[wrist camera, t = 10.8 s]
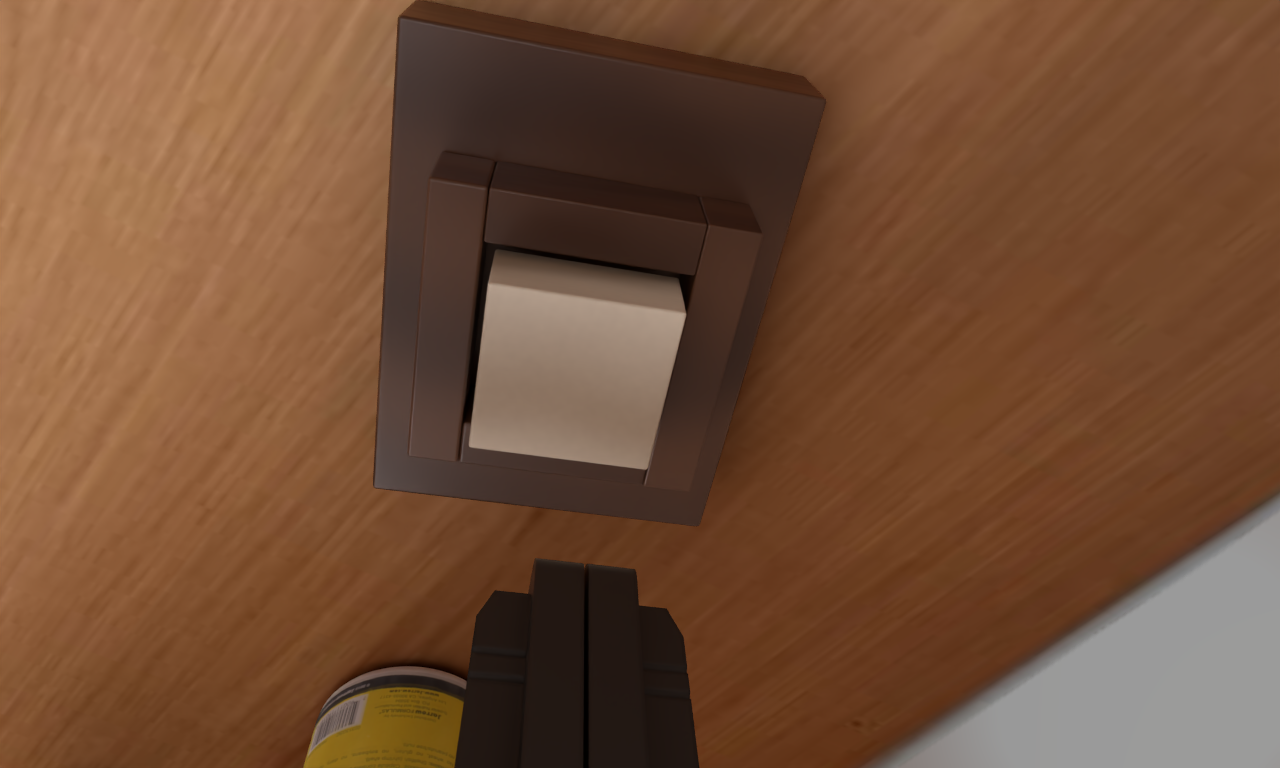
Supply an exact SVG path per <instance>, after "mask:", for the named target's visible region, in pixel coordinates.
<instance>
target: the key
mask: <svg viewBox="0 0 1280 768" xmlns="http://www.w3.org/2000/svg"><path fill="white" fill-rule="evenodd" d="M685 319H686V310H685V305H684V301H683V296H682V292H681V287H680V283H679V279H678V278H674V277H668V276H662V275H655V274H649V273H643V272H637V271H630V270H624V269H618V268H612V267H605V266H599V265H593V264H587V263H580V262H574V261H568V260H562V259H556V258H549V257H543V256H537V255H531V254H524V253H518V252H512V251H506V250H499V249H497V250H496V251H495V254H494V258H493V263H492V267H491V272H490V277H489V281H488V287H487V295H486V304H485V312H484V320H483V329H482V337H481V345H480V354H479V362H478V371H477V379H476V387H475V396H474V404H473V412H472V421H471V429H470V437H469V447H471V448H479V449H487V450H495V451H502V452H510V453H518V454H526V455H534V456H542V457H550V458H558V459H566V460H573V461H581V462H589V463H597V464H605V465H613V466H621V467H629V468H636V469H644V470H646V469H648V467H649V463H650V459H651V455H652V451H653V447H654V443H655V439H656V435H657V431H658V427H659V423H660V419H661V415H662V411H663V407H664V403H665V399H666V395H667V391H668V387H669V383H670V379H671V375H672V371H673V367H674V363H675V359H676V355H677V351H678V347H679V343H680V339H681V335H682V331H683V327H684V323H685Z"/></svg>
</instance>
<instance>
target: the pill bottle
mask: <svg viewBox="0 0 1280 768" xmlns="http://www.w3.org/2000/svg"><path fill="white" fill-rule="evenodd" d="M466 684H467V681H466V680H464V679H462V678H460V677H457V676H455V675H453V674H450V673H447V672H444V671H441V670H436V669H432V668H425V667H416V666H400V667H390V668H384V669H379V670H375V671H371V672H368V673H365V674H363V675H360V676H358V677H356V678H354V679H352V680H351V681H349V682H347V683H346V684H344V685H343V686H341V687H340V688H339V689H338V690H337V691H335V692H334V693H333V694H332V695H331V696H330V698H329V699H328V700H327V702H326V703H325V705H324V706H323V708H322V710H321V712H320V714H319V717H318V719H317V721H316V724H315V728H314V732H313V735H312V739H311V742H310V746H309V749H308V753H307V756H306V760H305V763H304V767H303V768H454V766H455V759H456V752H457V745H458V738H459V732H460V725H461V718H462V711H463V704H464V697H465V691H466Z"/></svg>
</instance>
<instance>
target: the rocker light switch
mask: <svg viewBox="0 0 1280 768" xmlns="http://www.w3.org/2000/svg"><path fill="white" fill-rule="evenodd" d="M825 105H826V99H825V98H824V97H823V96H822V94H821V93H820V92H819V91H818V90H817V89H816V88H815V87H814V86H813V85H812V84H811V83H810V82H809V81H808V80H807V79H806V78H805V77H804V76H799V75H794V74H789V73H784V72H779V71H774V70H769V69H764V68H759V67H754V66H749V65H744V64H739V63H734V62H729V61H724V60H719V59H714V58H709V57H704V56H699V55H694V54H689V53H684V52H679V51H674V50H669V49H664V48H659V47H654V46H649V45H644V44H639V43H634V42H629V41H624V40H619V39H614V38H609V37H604V36H599V35H594V34H589V33H584V32H579V31H574V30H568V29H563V28H558V27H553V26H548V25H543V24H538V23H533V22H528V21H523V20H518V19H513V18H508V17H503V16H498V15H493V14H488V13H483V12H478V11H473V10H468V9H463V8H458V7H453V6H448V5H443V4H438V3H433V2H428V1H423V0H416V1H415V2H414V3H413V4H411V5H410V6H409V7H408V8H407V9H406V10H405V11H404V12H403V13H402V14H401V15H399V17H398V25H397V43H396V62H395V81H394V99H393V118H392V137H391V156H390V174H389V193H388V212H387V230H386V249H385V268H384V286H383V305H382V324H381V342H380V361H379V380H378V399H377V417H376V436H375V455H374V473H373V486H374V488H377V489H386V490H394V491H402V492H411V493H419V494H428V495H436V496H445V497H453V498H462V499H470V500H479V501H487V502H496V503H504V504H512V505H521V506H529V507H538V508H546V509H555V510H563V511H572V512H580V513H589V514H597V515H606V516H614V517H622V518H631V519H639V520H648V521H656V522H665V523H673V524H682V525H690V526H699V525H700V522H701V519H702V516H703V512H704V509H705V506H706V502H707V499H708V496H709V492H710V489H711V486H712V482H713V479H714V475H715V472H716V469H717V465H718V462H719V459H720V455H721V452H722V449H723V445H724V442H725V439H726V435H727V432H728V429H729V425H730V422H731V419H732V415H733V412H734V409H735V405H736V402H737V399H738V395H739V392H740V389H741V385H742V382H743V379H744V375H745V372H746V369H747V365H748V362H749V359H750V355H751V352H752V349H753V345H754V342H755V339H756V335H757V332H758V329H759V325H760V322H761V319H762V315H763V312H764V309H765V305H766V302H767V299H768V295H769V292H770V289H771V285H772V282H773V279H774V275H775V272H776V269H777V265H778V262H779V259H780V255H781V252H782V249H783V245H784V242H785V239H786V235H787V232H788V229H789V225H790V222H791V219H792V215H793V212H794V208H795V205H796V202H797V198H798V195H799V192H800V188H801V185H802V182H803V178H804V175H805V172H806V168H807V165H808V162H809V158H810V155H811V152H812V148H813V145H814V142H815V138H816V135H817V132H818V128H819V125H820V122H821V118H822V115H823V112H824V108H825ZM497 249H499V250H506V251H512V252H518V253H524V254H531V255H537V256H543V257H549V258H556V259H562V260H568V261H574V262H580V263H587V264H593V265H599V266H605V267H612V268H618V269H624V270H630V271H637V272H643V273H649V274H655V275H662V276H668V277H674V278H678V279H679V283H680V287H681V292H682V296H683V301H684V305H685V310H686V319H685V323H684V327H683V331H682V335H681V339H680V343H679V347H678V351H677V355H676V359H675V363H674V367H673V371H672V375H671V379H670V383H669V387H668V391H667V395H666V399H665V403H664V407H663V411H662V415H661V419H660V423H659V427H658V431H657V435H656V439H655V443H654V447H653V451H652V455H651V459H650V463H649V467H648V469H646V470H644V469H636V468H629V467H621V466H613V465H605V464H597V463H589V462H581V461H573V460H566V459H558V458H550V457H542V456H534V455H526V454H518V453H510V452H502V451H495V450H487V449H479V448H471V447H469V437H470V429H471V421H472V412H473V404H474V396H475V387H476V379H477V371H478V362H479V354H480V345H481V337H482V329H483V320H484V312H485V304H486V295H487V287H488V281H489V277H490V272H491V267H492V263H493V258H494V254H495V251H496V250H497Z"/></svg>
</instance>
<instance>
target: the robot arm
mask: <svg viewBox="0 0 1280 768" xmlns="http://www.w3.org/2000/svg"><path fill="white" fill-rule="evenodd" d="M454 768H699V762H698V754H697V746H696V738H695V729H694V721H693V713H692V704H691V699H690V688H689V679H688V674H687V663H686V654H685V646H684V638H683V635H682V634H681V632H680V630H679V629H678V627H677V625H676V624H675V622H674V620H673V619H672V617H671V615H670V614H669V612H668V610H667V609H665V608H656V607H647V606H639V602H638V587H637V575H636V571H635V569H628V568H619V567H610V566H602V565H593V564H587V565H586V567H585V570H584V564H582V563H573V562H564V561H556V560H547V559H538V558H535V560H534V565H533V570H532V575H531V581H530V586H529V592H528V594H524V593H515V592H505V591H496V590H495V591H494V592H493V594H492V595H491V597H490V598H489V599H488V601H487V602H486V603H485V605H484V606H483V608H482V609H481V610H480V612H479V613H478V614H477V616H476V622H475V629H474V636H473V643H472V650H471V657H470V663H469V670H468V677H467V684H466V691H465V697H464V704H463V711H462V718H461V725H460V732H459V738H458V745H457V752H456V759H455V766H454Z"/></svg>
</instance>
